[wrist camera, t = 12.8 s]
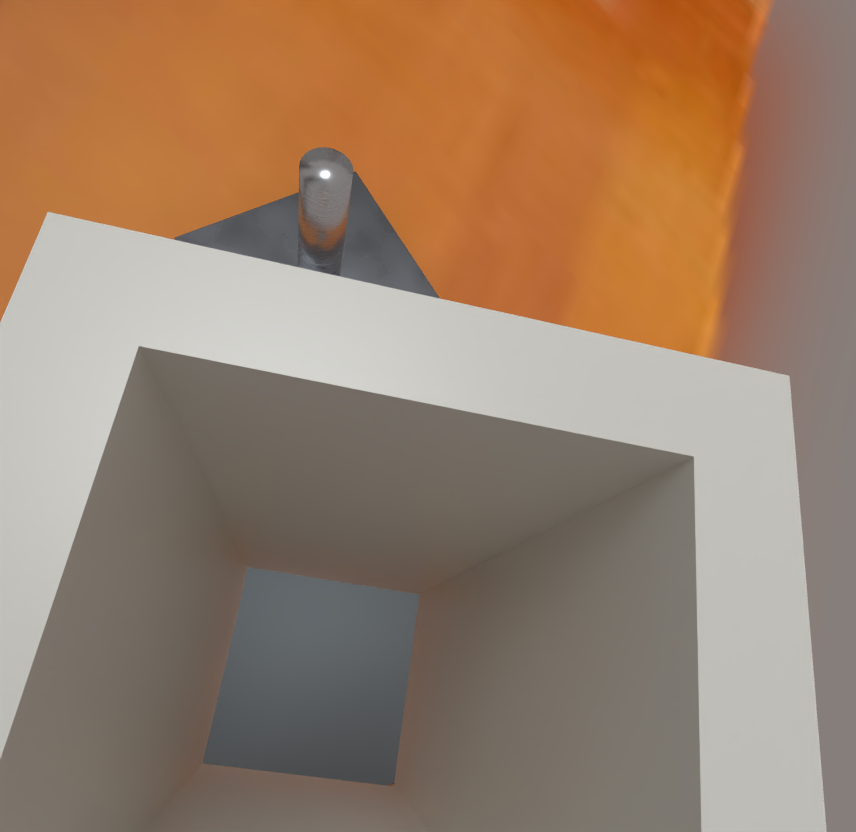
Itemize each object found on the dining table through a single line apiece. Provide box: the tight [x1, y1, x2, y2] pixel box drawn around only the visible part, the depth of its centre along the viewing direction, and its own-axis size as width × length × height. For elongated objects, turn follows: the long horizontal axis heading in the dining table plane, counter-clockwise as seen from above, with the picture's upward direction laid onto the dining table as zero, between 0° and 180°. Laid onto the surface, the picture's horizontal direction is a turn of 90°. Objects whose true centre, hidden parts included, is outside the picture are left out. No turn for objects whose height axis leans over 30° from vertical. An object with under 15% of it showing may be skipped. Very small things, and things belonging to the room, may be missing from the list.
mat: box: [203, 567, 419, 786], centre depth 27 cm, size 12×12×1 cm
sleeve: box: [0, 212, 826, 832], centre depth 8 cm, size 5×5×10 cm
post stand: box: [174, 147, 440, 299], centre depth 29 cm, size 10×10×10 cm
